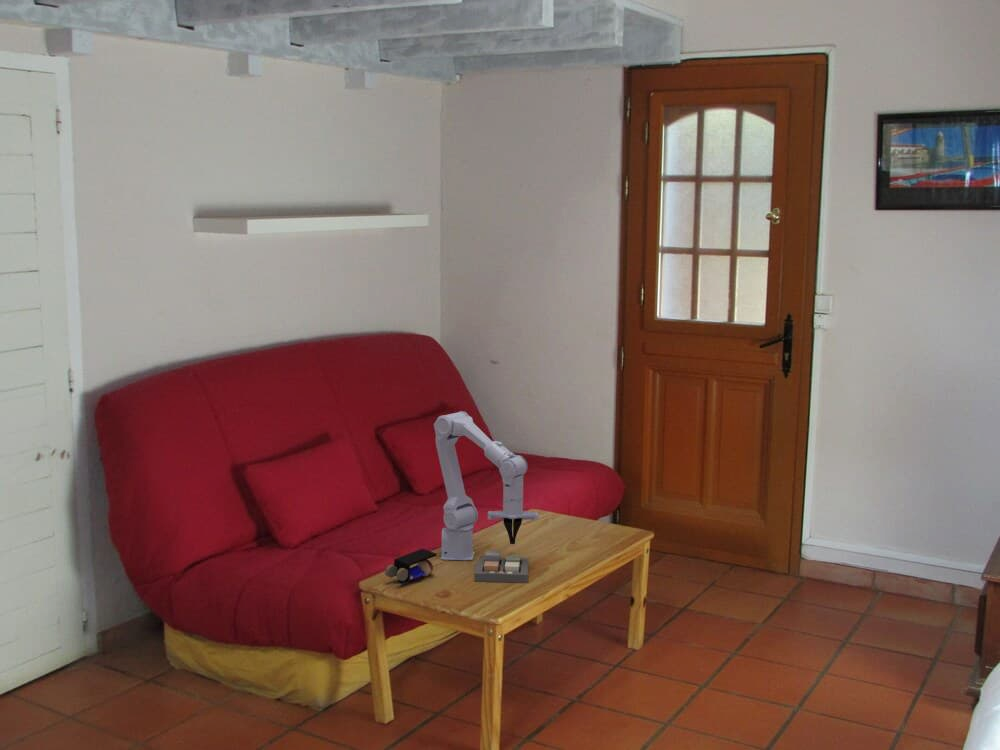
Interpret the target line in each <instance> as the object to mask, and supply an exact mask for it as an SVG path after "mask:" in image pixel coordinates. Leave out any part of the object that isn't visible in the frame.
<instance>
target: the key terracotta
mask: <svg viewBox="0 0 1000 750" xmlns="http://www.w3.org/2000/svg"><path fill="white" fill-rule="evenodd" d="M498 569H499V562H490V561H485V563H484V571H487V572H490V571H495V572H498Z"/></svg>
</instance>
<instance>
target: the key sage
mask: <svg viewBox="0 0 1000 750" xmlns="http://www.w3.org/2000/svg"><path fill="white" fill-rule="evenodd" d="M505 558H506V562H519V566H520V558H521V555H517V554H516V555H514V554H513V555H512V554H509V555H508V554H507V555H506V556H505Z"/></svg>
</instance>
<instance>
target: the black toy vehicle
mask: <svg viewBox="0 0 1000 750" xmlns="http://www.w3.org/2000/svg"><path fill="white" fill-rule="evenodd" d="M436 556H437V553H436V552H433V551H430V550H428V549H425V548H419V549H418V550H414V551H413V552H410V553H406V554H404V555H402V556H399V557H396V558H394V560H393V564H389V565H387V567H386V568H385V570H384V571H385V572H384V573H385V576H386V577H388V578H390V579H391V578H395V577H396V580H394V582H393V584H398V583H399V582H403V583H401V584H400V586H404V585H406V584H409V582H410V581H411V580H413V579H418V578H421V577H428V576H429V575H431V574H432V572H433V570H434V565H433V563H432V562H431V561H430V560H429V559H431V558H434V557H436Z"/></svg>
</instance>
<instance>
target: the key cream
mask: <svg viewBox="0 0 1000 750" xmlns="http://www.w3.org/2000/svg"><path fill="white" fill-rule="evenodd" d="M505 572H519V562H505Z"/></svg>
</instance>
